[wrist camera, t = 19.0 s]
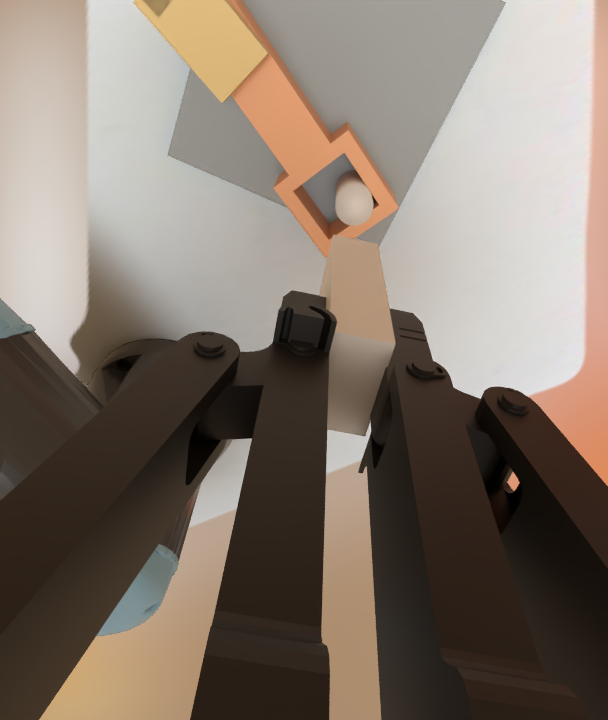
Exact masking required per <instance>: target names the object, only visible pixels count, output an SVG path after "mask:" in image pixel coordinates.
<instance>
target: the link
mask: <svg viewBox="0 0 608 720" xmlns="http://www.w3.org/2000/svg"><path fill="white" fill-rule="evenodd" d="M228 1H229V3H230V4H231V5H232V6H233V8H234V9H235V10H236V11H237V12H238V14H239V15H240V16H241V17H242V19H243V20H244V21H245V22H246V24H247V25H248V26H249V27H250V29H251V30H252V31H253V32H254V34H255V35H256V36H257V37H258V38H259V40H260V41H261V42H262V43H263V45H264V46H265V47H266V48H267V50H268V51H269V52H270V53H269V54H268V55H267V57H266V58H265V59H264V60H263V61H262V62H261V63H260V64H259V65H258V66H257V67H256V69H255V70H254V71H253V72H252V73H251V74H250V75H249V76H248V77H247V78H246V79H245V81H244V82H243V83H242V84H241V85H240V86H239V87H238V88H237V89H236V90H235V91H234V92H233V94H232V95H231V96H232V97H233V99H234V100H235V101H236V103H237V104H238V105H239V107H240V108H241V110H242V111H243V112H244V114H245V115H246V116H247V118H248V119H249V121H250V122H251V123H252V125H253V126H254V127H255V129H256V130H257V132H258V133H259V134H260V136H261V137H262V138H263V140H264V141H265V143H266V144H267V145H268V147H269V148H270V150H271V151H272V152H273V154H274V155H275V156H276V158H277V159H278V161H279V162H280V163H281V165H282V166H283V167H284V169H285V171H284V172H282V173H281V174H280V175H279V176H278V178H277V180H276V183H275V185H274V187H273V188H274V190H275V191H276V192H277V194H278V195H279V196H280V198H281V199H282V200H283V202H284V203H285V204H286V206H287V207H288V208H289V210H290V211H291V212H292V214H293V215H294V216H295V218H296V219H297V220H298V222H299V223H300V224H301V226H302V227H303V228H304V230H305V231H306V232H307V234H308V235H309V236H310V238H311V239H312V240H313V242H314V243H315V244H316V246H317V247H318V248H319V250H320V251H321V252H322V254H323V255H324V256H325V258H327V257H328V255H329V251H330V246H331V242H332V237H333V235H338V236H343V237H347V238H352V239H355V238H356V237H358V236H359V235H361V234H362V233H363V232H365V231H366V230H368V229H369V228H371V227H372V226H374V225H375V224H377V223H378V222H380V221H381V220H383V219H384V218H386V217H387V216H388V215H390V214H391V213H393V212H394V211H396V210H397V209H399V207H398V204H397V201H396V198H395V195H394V193H393V192H392V190H391V189H390V187H389V185H388V184H387V182H386V181H385V179H384V178H383V176H382V175H381V173H380V171H379V170H378V168H377V167H376V165H375V164H374V162H373V161H372V159H371V157H370V156H369V154H368V153H367V151H366V150H365V148H364V147H363V145H362V143H361V142H360V140H359V139H358V137H357V136H356V134H355V133H354V131H353V129H352V128H351V126H350V125H349V123H348V122H347V123H345V124H344V125H343V126H341V127H340V128H339V129H338V130H336V131H335V132H334V133H332V134H331V133H330V132H329V130H328V129H327V127H326V126H325V124H324V123H323V121H322V120H321V118H320V117H319V115H318V114H317V112H316V111H315V109H314V108H313V106H312V105H311V103H310V102H309V100H308V99H307V97H306V96H305V94H304V93H303V91H302V90H301V88H300V87H299V85H298V84H297V82H296V81H295V79H294V78H293V76H292V75H291V73H290V72H289V70H288V69H287V67H286V66H285V64H284V62H283V61H282V59H281V58H280V56H279V55H278V53H277V52H276V50H275V49H274V47H273V46H272V44H271V43H270V41H269V40H268V38H267V37H266V35H265V34H264V32H263V31H262V29H261V28H260V26H259V25H258V23H257V22H256V20H255V19H254V17H253V16H252V14H251V13H250V11H249V10H248V8H247V7H246V5H245V4H244V2H243V1H242V0H228ZM343 153H345V154H346V156H347V157H348V159H349V160H350V162H351V163H352V165H353V166H354V168H355V169H356V171H357V172H358V174H359V175H360V177H361V178H362V180H363V181H364V183H365V184H366V186H367V187H368V189H369V190H370V192H371V193H372V199H373V212H372V214H371V216H370V218H369V219H368V220H367V221H366V222H364V223H363V224H360V225H356V226H352V225H347V224H345V223H343V222H342V221H341V220H340V219H339V218H337V219H336V220H334V221H333V222H332V223H329V222H328V221H327V219H326V218H325V216H324V215H323V214H322V212H321V211H320V209H319V208H318V207H317V205H316V204H315V202H314V201H313V200H312V198H311V197H310V196H309V194H308V193H307V191H306V190H305V189H304V187H303V186H302V184H303V183H304V182H306V181H307V180H308V179H310V178H311V177H312V176H314V175H315V174H316V173H318V172H319V171H320V170H322V169H323V168H324V167H326V166H327V165H328V164H330V163H331V162H332V161H334V160H335V159H336V158H338V157H339V156H340V155H342V154H343Z"/></svg>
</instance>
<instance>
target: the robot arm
mask: <svg viewBox="0 0 608 720" xmlns="http://www.w3.org/2000/svg"><path fill="white" fill-rule="evenodd" d="M34 331H35V329H34V327H33V326H32V325H30V324H26V323H25V322H24V321H23V320H22V319H21V318H20V317H19V316H18V315H17V314H16V313H15V312H14V311H13V310H12V309H11V308H9V307H8V306H7V305H6V304H5V303H4V302H3V301H2V300H1V299H0V720H39V719H40V717H41V716H42V714H43V713H44V712H45V710H46V709H47V707H48V706H49V704H50V703H51V701H52V700H53V698H54V697H55V695H56V694H57V693H58V691H59V690H60V688H61V687H62V685H63V684H64V682H65V680H66V679H67V678H68V676H69V675H70V673H71V672H72V671H73V669H74V668H75V666H76V665H77V663H78V662H79V660H80V659H81V657H82V656H83V654H84V653H85V652H86V650H87V649H88V647H89V646H90V644H91V643H92V641H93V640H94V638H95V637H96V636H105V635H111V634H116V633H120V632H123V631H127V630H130V629H132V628H134V627H136V626H139V625H140V624H142V623H143V622H145V621H146V620H148V619H149V618H150V617H151V616H152V615H153V614H154V613H155V612H156V611H157V609H158V608H159V606H160V605H161V603H162V601H163V598H164V596H165V593H166V591H167V588H168V586H169V583H170V580H171V578H172V576H173V575H174V574H175V572H176V570H177V566H178V561H179V558H180V554H181V551H182V547H183V544H184V540H185V537H186V533H187V530H188V527H189V523H190V520H191V516H192V513H193V509H194V506H195V502H196V499H197V495H198V492H199V488H200V485H201V482H202V480H203V479H204V477H205V476H206V474H207V473H208V472H209V470H210V469H211V467H212V466H213V464H214V463H215V462H216V461H217V460H218V458H219V457H220V456H221V455H222V454H223V453H224V452H225V450H226V449H227V448H228V446H229V445H230V443H231V441H232V439H246V438H252V442H251V446H250V451H249V456H248V460H247V465H246V470H245V474H244V479H243V484H242V488H241V493H240V497H239V502H238V507H237V512H236V516H235V521H234V525H233V530H232V535H231V539H230V544H229V549H228V553H227V558H226V563H225V567H224V572H223V577H222V582H221V586H220V591H219V595H218V600H217V605H216V609H215V614H214V619H213V623H212V626H211V628H210V632H209V636H208V641H207V645H206V650H205V654H204V659H203V663H202V668H201V672H200V677H199V682H198V686H197V691H196V696H195V700H194V705H193V709H192V714H191V718H190V720H329V691H330V668H329V653H328V648H327V646H326V645H324V644H323V643H322V638H321V619H322V618H321V617H322V584H323V552H324V551H323V549H324V518H325V484H326V451H327V429H329V430H334V431H340V432H345V433H350V434H356V435H361V436H365V435H366V432H367V429H368V426H369V423H370V420H371V431H372V432H371V435H370V438H369V441H368V444H367V447H366V450H365V452H364V455H363V458H362V461H361V464H360V468H359V473H363V471H364V468H365V467H366V466H367V474H368V491H369V492H368V493H369V509H370V527H371V545H372V560H373V561H372V562H373V578H374V596H375V614H376V631H377V650H378V666H379V685H380V701H381V718H382V720H608V486H607V485H606V484H605V483H604V482H603V481H602V479H601V478H600V477H599V476H598V475H597V474H596V472H595V471H594V470H593V469H592V468H591V467H590V465H589V464H588V463H587V462H586V461H585V459H584V458H583V457H582V456H581V455H580V454H579V453H578V451H577V450H576V449H575V448H574V447H573V446H572V444H571V443H570V442H569V441H568V440H567V439H566V437H565V436H564V435H563V434H562V433H561V431H560V430H559V429H558V428H557V427H556V426H555V425H554V423H553V422H552V421H551V420H550V419H549V418H548V416H547V415H546V414H545V413H544V412H543V411H542V409H541V408H540V407H539V406H538V405H537V404H536V403H535V402H534V401H533V400H531V399H530V398H529V397H527V396H525V395H524V394H523V393H521V392H519V391H517V390H514V389H511V388H504V387H490V388H488V389H487V390H485V391H484V393H483V395H482V398H481V399H479V398H476V397H474V396H471V395H468V394H466V393H463V392H461V391H459V390H457V389H455V388H453V385H452V381H451V378H450V376H449V374H448V372H447V371H446V369H444V368H443V367H442V366H441V365H440V364H438V363H436V362H434V361H433V360H432V356H431V353H430V349H429V346H428V342H427V338H426V335H425V331H424V328H423V324H422V322H421V321H420V320H419V319H418V318H417V317H416V316H415V315H414V314H413V313H409V312H404V311H399V310H394V309H389V304H388V298H387V293H386V287H385V281H384V276H383V270H382V265H381V259H380V253H379V248H378V244H377V243H372V242H367V241H362V240H357V239H352V238H347V237H343V236H338V235H333V237H332V242H331V246H330V251H329V255H328V260H327V264H326V268H325V273H324V277H323V282H322V286H321V290H320V295H319V296H317V295H312V294H307V293H302V292H297V291H291V292H289V293H288V294H287V295H285V296H284V297H283V301H282V306H281V308H280V309H279V312H278V317H277V322H276V328H275V333H274V339H273V343H272V344H271V345H270V346H269V347H268V348H265V349H263V350H260V351H255V352H240V349H239V346H238V344H237V343H236V342H235V341H234V340H232V339H231V338H229V337H227V336H225V335H222V334H218V333H215V332H196V333H192V334H188V335H187V336H185V337H183V338H182V339H180V340H179V341H178V342H174V341H169V340H161V339H146V340H139V341H134V342H130V343H128V344H125V345H123V346H121V347H119V348H117V349H115V350H114V351H112V352H111V353H110V354H109V355H108V356H107V357H106V358H105V359H104V360H103V361H102V363H101V364H100V365H99V367H98V368H97V370H96V371H95V372H94V374H93V376H92V377H91V379H90V382H89V384H88V387H87V388H86V387H85V386H84V385H83V384H82V383H81V382H80V381H79V380H78V379H77V378H76V377H75V376H74V374H73V373H72V372H71V371H70V370H69V369H68V368H67V367H66V366H65V365H64V364H63V363H62V362H61V361H60V359H59V358H58V357H57V356H56V355H55V354H54V353H53V352H52V351H51V349H50V348H49V347H48V346H47V345H46V344H45V343H44V342H43V341H42V339H41V338H40V337H39V336H38V335H37V334H36V333H35V332H34ZM512 472H514V473H515V475H516V476H517V478H518V480H519V482H520V484H519V485H518V487H517V489H516V490H515V491H513V490H512V489H511V488H510V486H509V484H508V483H507V481H508V479H509V477H510V476H511V474H512Z"/></svg>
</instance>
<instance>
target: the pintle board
mask: <svg viewBox="0 0 608 720" xmlns="http://www.w3.org/2000/svg"><path fill="white" fill-rule="evenodd" d="M242 1H243V2H244V4H245V5H246V7H247V8H248V10H249V11H250V13H251V14H252V16H253V17H254V19H255V20H256V22H257V23H258V25H259V26H260V28H261V29H262V31H263V32H264V34H265V35H266V37H267V38H268V40H269V41H270V43H271V44H272V46H273V47H274V49H275V50H276V52H277V53H278V55H279V56H280V58H281V59H282V61H283V62H284V64H285V66H286V67H287V69H288V70H289V72H290V73H291V75H292V76H293V78H294V79H295V81H296V82H297V84H298V85H299V87H300V88H301V90H302V91H303V93H304V94H305V96H306V97H307V99H308V100H309V102H310V103H311V105H312V106H313V108H314V109H315V111H316V112H317V114H318V115H319V117H320V118H321V120H322V121H323V123H324V124H325V126H326V127H327V129H328V130H329V132H330V133H331V134H332V133H334V132H335V131H336V130H338V129H339V128H340V127H341V126H343V125H344V124H345V123H347V122H348V123H349V125H350V126H351V128H352V129H353V131H354V133H355V134H356V136H357V137H358V139H359V140H360V142H361V143H362V145H363V147H364V148H365V150H366V151H367V153H368V154H369V156H370V157H371V159H372V161H373V162H374V164H375V165H376V167H377V168H378V170H379V171H380V173H381V175H382V176H383V178H384V179H385V181H386V182H387V184H388V185H389V187H390V189H391V190H392V192H393V193H394V195H395V198H396V201H397V204H398V207H400V205H401V203H402V201H403V199H404V197H405V195H406V193H407V191H408V189H409V187H410V186H411V184H412V182H413V180H414V178H415V176H416V174H417V172H418V170H419V168H420V166H421V164H422V163H423V161H424V159H425V157H426V155H427V153H428V151H429V149H430V147H431V145H432V143H433V141H434V140H435V138H436V136H437V134H438V132H439V130H440V128H441V126H442V124H443V122H444V120H445V118H446V116H447V115H448V113H449V111H450V109H451V107H452V105H453V103H454V101H455V99H456V97H457V95H458V93H459V92H460V90H461V88H462V86H463V84H464V82H465V80H466V78H467V76H468V74H469V72H470V70H471V69H472V67H473V65H474V63H475V61H476V59H477V57H478V55H479V53H480V51H481V49H482V47H483V45H484V44H485V42H486V40H487V38H488V36H489V34H490V32H491V30H492V28H493V26H494V24H495V22H496V21H497V19H498V17H499V15H500V13H501V11H502V9H503V7H504V5H505V3H506V2H504V1H502V0H242ZM134 4H135V5H136V6H137V7H138V9H139V10H140V11H141V12H142V13H143V14H144V15H145V16H146V18H147V19H148V20H149V21H150V22H151V23H152V24H153V26H154V27H155V28H156V29H157V30H158V31H159V32H160V34H161V35H162V36H163V37H164V38H165V39H166V40H167V41H168V43H169V44H170V45H171V46H172V47H173V48H174V49H175V51H176V52H177V53H178V54H179V55H180V56H181V57H182V59H183V60H184V61H185V62H186V63H187V64H188V65H189V66H190V68H191V69H190V73H189V77H188V80H187V84H186V88H185V92H184V96H183V99H182V103H181V107H180V111H179V114H178V118H177V122H176V126H175V130H174V133H173V137H172V141H171V145H170V149H169V152H168V156H171V157H173V158H175V159H178V160H180V161H182V162H184V163H187V164H189V165H191V166H194V167H196V168H198V169H201V170H203V171H205V172H207V173H210V174H212V175H214V176H217V177H219V178H221V179H223V180H226V181H228V182H230V183H233V184H235V185H237V186H239V187H242V188H244V189H246V190H249V191H251V192H253V193H255V194H258V195H260V196H262V197H265V198H267V199H269V200H271V201H274V202H276V203H278V204H281V205H283V206H285V207H287V206H286V204H285V203H284V202H283V200H282V199H281V198H280V196H279V195H278V194H277V192H276V191H275V190H274V188H273V187H274V185H275V183H276V180H277V178H278V176H279V175H280V174H281V173H282V172H284V171H285V169H284V167H283V166H282V165H281V163H280V162H279V161H278V159H277V158H276V156H275V155H274V154H273V152H272V151H271V150H270V148H269V147H268V145H267V144H266V143H265V141H264V140H263V138H262V137H261V136H260V134H259V133H258V132H257V130H256V129H255V127H254V126H253V125H252V123H251V122H250V121H249V119H248V118H247V116H246V115H245V114H244V112H243V111H242V110H241V108H240V107H239V105H238V104H237V103H236V101H235V100H234V99H233V97H232V96H231V95H232V94H233V92H234V91H235V90H236V89H237V88H238V87H239V86H240V85H241V84H242V83H243V82H244V81H245V79H246V78H247V77H248V76H249V75H250V74H251V73H252V72H253V71H254V70H255V69H256V67H257V66H258V65H259V64H260V63H261V62H262V61H263V60H264V59H265V58H266V57H267V55H268V54H269V53H270V52H269V51H268V50H267V48H266V47H265V46H264V45H263V43H262V42H261V41H260V40H259V38H258V37H257V36H256V35H255V34H254V32H253V31H252V30H251V29H250V27H249V26H248V25H247V24H246V22H245V21H244V20H243V19H242V17H241V16H240V15H239V14H238V12H237V11H236V10H235V9H234V8H233V6H232V5H231V4H230V3H229V1H228V0H135V1H134ZM302 186H303V187H304V189H305V190H306V191H307V193H308V194H309V196H310V197H311V198H312V200H313V201H314V202H315V204H316V205H317V207H318V208H319V209H320V211H321V212H322V214H323V215H324V216H325V218H326V219H327V221H328V222H329V223H332V222H333V221H334V220H336V219H337V218H339V219H340V220H341V221H342V222H343V223H345V224H347V225H352V226H356V225H360V224H363V223H364V222H366V221H367V220H368V219H369V218H370V216H371V214H372V212H373V199H372V193H371V192H370V190H369V189H368V187H367V186H366V184H365V183H364V181H363V180H362V178H361V177H360V175H359V174H358V172H357V171H356V169H355V168H354V166H353V165H352V163H351V162H350V160H349V159H348V157H347V156H346V154H345V153H343V154H342V155H340V156H339V157H338V158H336V159H335V160H334V161H332V162H331V163H330V164H328V165H327V166H326V167H324V168H323V169H322V170H320V171H319V172H318V173H316V174H315V175H314V176H312V177H311V178H310V179H308V180H307V181H306V182H304V183H303V184H302ZM397 211H398V209H397V210H396V211H394V212H393V213H391V214H390V215H388V216H387V217H386V218H384V219H383V220H381V221H380V222H378V223H377V224H375V225H374V226H372V227H371V228H369V229H368V230H366V231H365V232H363V233H362V234H361V235H359V236H358V237H356V238H358V239H361V240H363V241H367V242H372V243H377V244H378V247H379V245H380V243H381V241H382V239H383V237H384V235H385V234H386V232H387V230H388V228H389V226H390V224H391V222H392V220H393V218H394V216H395V214H396V212H397Z"/></svg>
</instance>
